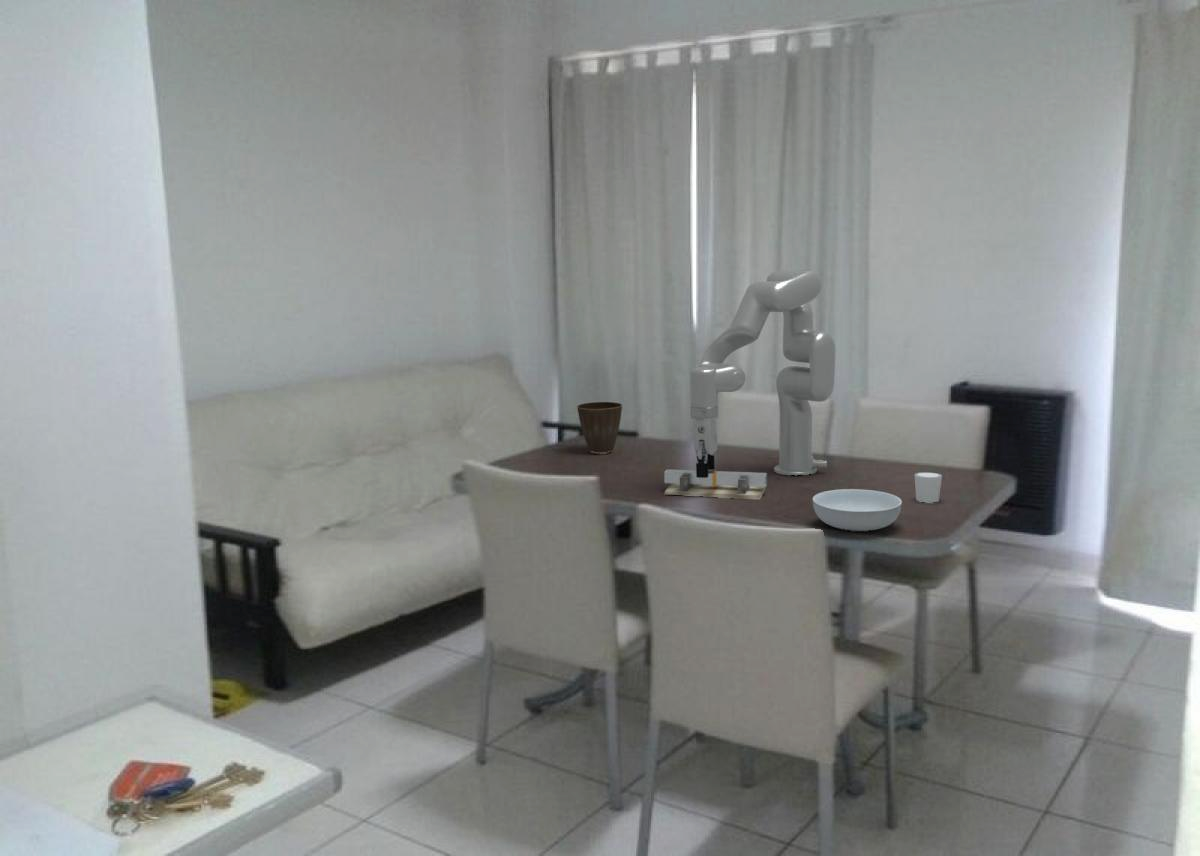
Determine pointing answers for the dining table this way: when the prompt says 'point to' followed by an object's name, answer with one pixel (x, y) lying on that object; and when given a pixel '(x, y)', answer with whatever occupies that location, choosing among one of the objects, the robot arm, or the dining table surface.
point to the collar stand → (716, 490)
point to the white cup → (927, 487)
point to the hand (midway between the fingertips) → (705, 473)
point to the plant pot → (600, 424)
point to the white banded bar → (717, 478)
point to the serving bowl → (857, 509)
